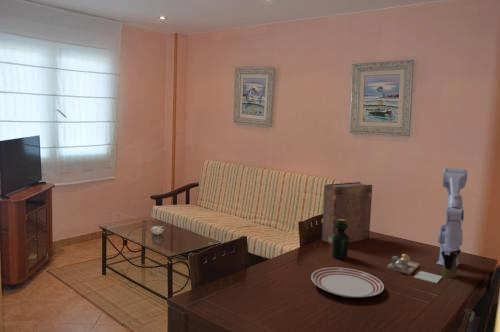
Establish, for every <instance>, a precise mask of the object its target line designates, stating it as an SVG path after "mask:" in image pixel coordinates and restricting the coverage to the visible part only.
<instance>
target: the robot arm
mask: <svg viewBox="0 0 500 332" xmlns="http://www.w3.org/2000/svg"><path fill="white" fill-rule="evenodd" d="M467 180H468V170H467V169H466V168H452V167H451V168H450V167H448V168H447V167H444V168H443V170H442V187H443V188H446V192H447V200H446V201H447V202H446V210H445V223H443V224H441V225H440V226H439V227H438V232H437V233H438V234H437V235H438V236H437V242H438V244H440V245H439V247H440V248H439V258H438V260H437V262H436V265H438V266H439V265H440V266H442V267H443V265H444V263H445V269H449V270H451V268H452V265H453V261H454V259H455V257H456V256H457V255H455V254H452V252H453V251H457V253H458V257H457V258H456V268H457V267H458V266H459V265H460V263H461V262H460V261H458V260H459V254H460V253H461V252H462V251H461V248H460V247H461V246H462V245H463V236H464V235H463V229H462V225H463V224H462V223H463V222H464V217H465V211H464V210H465V209H464V207H463V196H462V195H461V193H460V192H461V191H460V190H462V189H465V186H466V184H467Z"/></svg>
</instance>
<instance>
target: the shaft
mask: <svg viewBox="0 0 500 332" xmlns="http://www.w3.org/2000/svg"><path fill="white" fill-rule="evenodd" d="M404 258H406V259H408V262H409V261H411V257H410V255H409V254H407V253H403V254H401V255H400V256H399V259H400V260H398V261H397V262H396V263H395V264H394V265H395V267H399V266H400V265H401V264H402V260H403V259H404Z"/></svg>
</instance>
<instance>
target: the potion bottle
mask: <svg viewBox="0 0 500 332" xmlns="http://www.w3.org/2000/svg"><path fill="white" fill-rule="evenodd" d="M345 222H346V220H345V219H338V223H337V224H336V225H335V227H336V228H337V230H338V232H337V233H335V234H333V236H332V244H331V251H332V252H331V255H332V257H333V258H334V259H336V260H346V259H347V258H348V252H349V245H350V243H349V239H350V238H349V236H348V235H347V234H345V233H344V232H345V229H346V228H348V226H347V224H345Z"/></svg>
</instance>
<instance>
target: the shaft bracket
mask: <svg viewBox="0 0 500 332" xmlns="http://www.w3.org/2000/svg"><path fill="white" fill-rule="evenodd" d="M398 260H400V258H399V256H396V255H393V256H392V257H391V263H389V264H387V265H386V270H391V271H394V272H399V273H403V274H405V275H410V274H412V273H413V272H414V271H416V270H417V268H420V266H421V263H419V262H415V261H411V260H410V261H409V262H408V259H406V258H404V259H403V260H402V264H401V265H400V266H399V267H395V265H394V264H395V263H396V262H397V261H398Z"/></svg>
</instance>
